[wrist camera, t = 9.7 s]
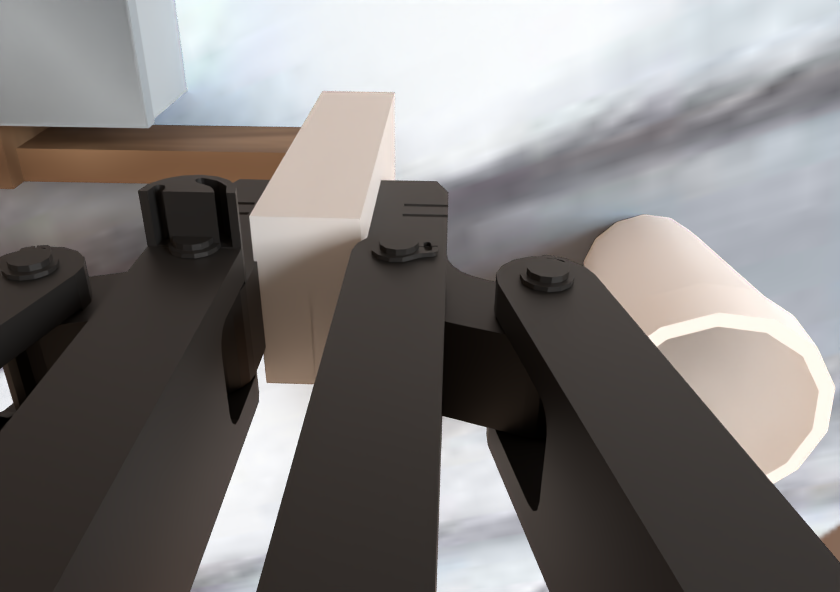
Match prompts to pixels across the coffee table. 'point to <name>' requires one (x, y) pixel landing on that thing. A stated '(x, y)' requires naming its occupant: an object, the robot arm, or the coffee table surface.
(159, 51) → the gray block
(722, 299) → the foam cup
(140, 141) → the bay
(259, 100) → the coffee table surface
